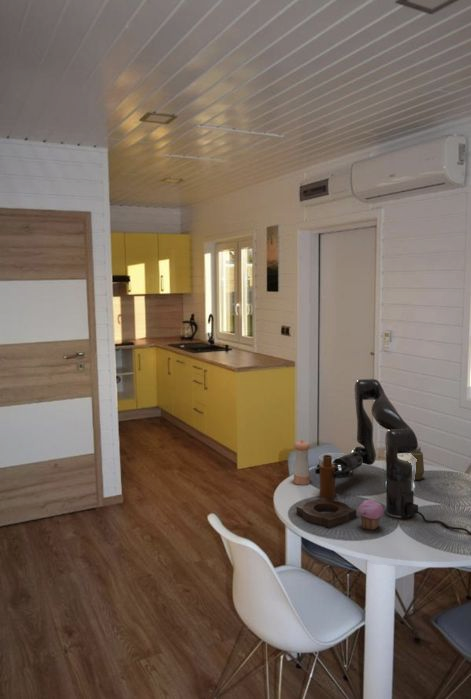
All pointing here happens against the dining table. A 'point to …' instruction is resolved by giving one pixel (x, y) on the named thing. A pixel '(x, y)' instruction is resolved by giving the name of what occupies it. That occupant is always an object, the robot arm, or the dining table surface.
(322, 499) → the board
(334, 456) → the cereal bowl
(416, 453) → the squeeze bottle
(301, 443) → the pepper shaker
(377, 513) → the cupcake
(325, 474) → the bottle
